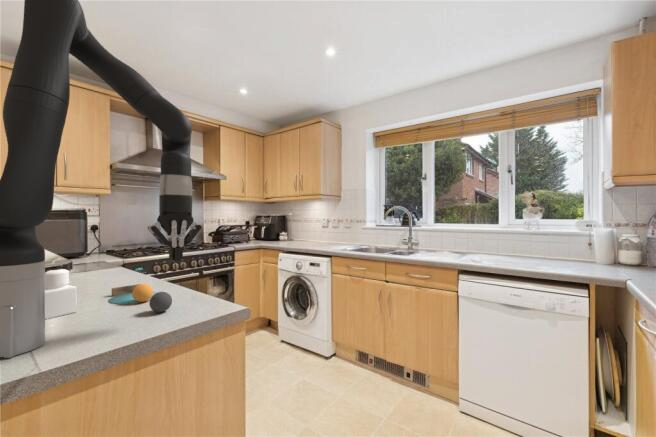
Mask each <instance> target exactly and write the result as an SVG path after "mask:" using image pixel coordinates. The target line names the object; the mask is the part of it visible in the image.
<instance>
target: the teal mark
mask: <svg viewBox="0 0 656 437" xmlns="http://www.w3.org/2000/svg"><path fill="white" fill-rule="evenodd" d="M156 293H158V292H157V291H153V295H154V294H156ZM153 295H152V296H153ZM150 299H151V298H150ZM150 299H149V300H148V301H145V302H150ZM145 302H144V303H145ZM108 303H110V304H113V305H133V304H139V303H140V304H141V303H142V302H138V301H136V300H135V299H134V298H133V296H132V293H127V294H122V295H118V296H111V298H109V299H108Z"/></svg>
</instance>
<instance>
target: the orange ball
mask: <svg viewBox="0 0 656 437" xmlns="http://www.w3.org/2000/svg"><path fill="white" fill-rule="evenodd" d="M139 284H140V285H138V286H136V287H135V288H134V290H133V292H132V296H133V298H134V299H135V300H136V301H138V302H141V303H145V301H146V302H149V301H148V300H149V299H150V298H151V297H152V295H153V292H154V289H153V287H152V286H151V285H150V284H147V283H139Z"/></svg>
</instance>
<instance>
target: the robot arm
mask: <svg viewBox="0 0 656 437" xmlns="http://www.w3.org/2000/svg"><path fill="white" fill-rule="evenodd" d="M23 2H24V4H23V6H24V7H23V21H22V33H21V38H20V41H19V46H18V49H17V52H16V54H15V59H14V61H13V66H12V70H11V74H10V78H9V82H8V84H7V89H6V93H5V97H4V100H3V107H2V121H3V127H4V133H5V137H6V143H7V155H6V160H5V164H4V167H3V170H2V173H1V177H0V357H4V358H3V359H11V358H13V357H16V356H17V355H18V356H19V355H21V354H24V353H27V352H31V351H33V350H35V349H37V348H40V347H41V346H43V345H44V344H45V342H46V320H45V270H46V251H45V248H44V246H43V245H42V244H41V243H40V241H39V239H38V237H37V234H36V227H37V226H39V225H41V224H43V223H44V222H45V221H46V220H47V219H48V218H49V216H50V215H51V213H52V210H53V206H54V195H55V194H54V193H55V180H56V179H55V177H56V166H57V160H58V155H59V151H60V147H61V142H62V136H63V132H64V128H65V125H66V120H67V115H68V111H69V105H70V96H71V95H70V94H71V93H70V92H71V91H70V90H71V89H70V88H71V87H70V86H71V85H70V84H71V83H70V81H71V80H70V65H69V64H70V62H69V61H70V60H69V58H70V57H69V56H70V55H71V56H72V57H74V58H75V59H76V60H78V61H79V62H80V63H82V64H83V65H84V66H86V67H87V68H88V69H89V70H91V71H92V72H93V73H94V74H96V75H97V77H99V78H100V79H101V80H102V81H103V82H104V83H105V84H107V85H108V86H109V87H110V88H111V89H112V90H113V91H115V93H117V95H119V97H120V98H122V99H123V100H124V101H125V102H126V103H127V104H128V105H129V106H130V107H132V109H133V110H135V111H136V112H137V113H138V114H139V115H141V116H142V117H144V118H147V119H148V120H149V121H150V122H151V123H152V124H153V125H154V126H155V127H157V129H159V131H160V133H161V134H160V135H161V151H162V152H161V153H162V154H161V157H160V179H159V188H158V189H159V191H158V192H159V193H158V195H159V196H158V197H159V204H158V205H159V208H158V209H159V210H158V212H159V214H158V217H157V221H156V222H154V223H153V224H151V225H149V226H147V230H148V231H149V232H150V233H151V234H152V236H153V237H154V238H155V239H156V240H157V242H158V243H159V244H160V245H161V246H165V247H168V259H169V260H170V261H171V263H181V261H182V260H183V258H184V254H183V253H184V247H185V246H187V245H190V244H191V243H192V241H193V240H194V239H195V238H196V236H197V235H198V234H199V232H200V231H201V229H202V225H201V224H198V223H196V222H195V221H194V217H193V194H194V192H193V183H192V182H193V181H192V159H191V142H192V141H191V139H192V133H193V125H192V123H191V120H190V119H189V118H188V116H186V114H185V113H184V112H183V111H182V110H181V109H179V108H178V107H177V106H176V105H175V104H173V103H172V102H170V101H169V100H168V99H166V98H165V97H163V95H162V94H161V93H160V92H159V91H158V90H157V89H156V88H155V87H154V86H153V85H152V84H151V83H149V81H148V80H147V79H146V78H144V76H143V75H141V73H139V72H138V71H136V70H135V69H134V68H133V67H131V66H130V65H128V64H126V63H125V62H123V61H122V60H121V59H118V58H117V57H115V56H114V55H113V54H112V53H111V52H109V51H108V50H107V48H105V47H104V46H103V45H102V44H101V43H100V42H99V41H98V39H97V38H96V37H95V36H94V35H93V33H92V31H90V29H89V28H88V26H87V21H86V18H85V12H84V9H83V7H82V5H81V3H80V1H79V0H24V1H23ZM162 230H163V231H164V232H165V233H166V236H165V235H164V234H163V233H162V232H161V231H162ZM188 230H189V231H188ZM187 231H188V232H187Z"/></svg>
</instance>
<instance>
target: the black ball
mask: <svg viewBox="0 0 656 437" xmlns="http://www.w3.org/2000/svg"><path fill="white" fill-rule="evenodd" d="M172 303H173V298H172V296H171V294H170V293H168V292H166V291H159V292H158V293H156V294H154V295H153V296H152V297H151V299H150V301H149V303H148V304H149V307H150V309H151V310H152V311H154V312H156V313H164V312H166V311H167V310H169V309H170V307H172V306H171V305H172Z"/></svg>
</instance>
